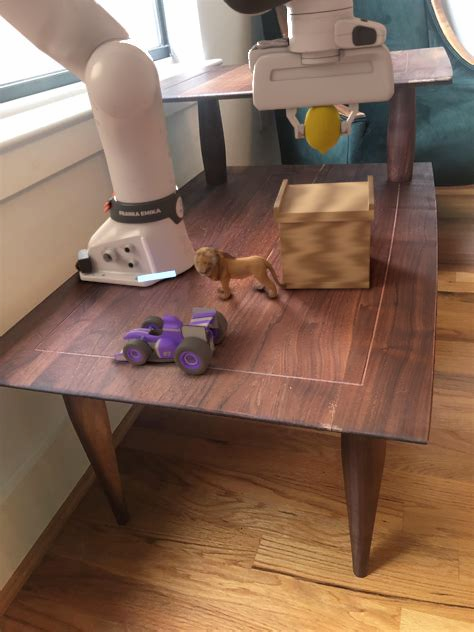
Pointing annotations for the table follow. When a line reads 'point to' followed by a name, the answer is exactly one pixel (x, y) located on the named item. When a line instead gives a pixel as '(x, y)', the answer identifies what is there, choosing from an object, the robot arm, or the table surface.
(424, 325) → the table surface
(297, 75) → the robot arm
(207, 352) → the toy race car
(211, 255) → the lion figurine
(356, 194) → the wooden crate box
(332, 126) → the lemon
